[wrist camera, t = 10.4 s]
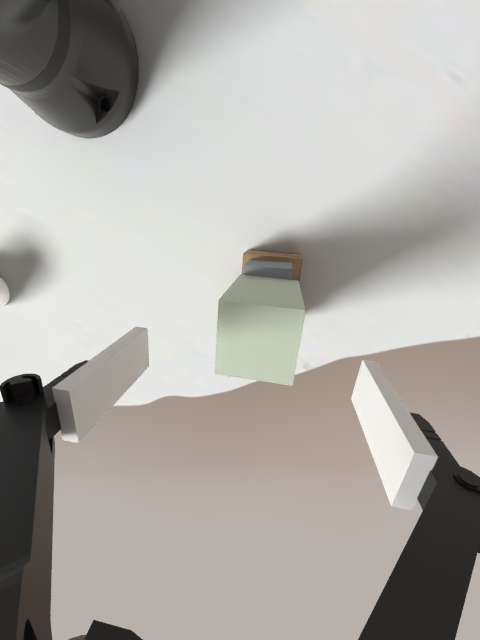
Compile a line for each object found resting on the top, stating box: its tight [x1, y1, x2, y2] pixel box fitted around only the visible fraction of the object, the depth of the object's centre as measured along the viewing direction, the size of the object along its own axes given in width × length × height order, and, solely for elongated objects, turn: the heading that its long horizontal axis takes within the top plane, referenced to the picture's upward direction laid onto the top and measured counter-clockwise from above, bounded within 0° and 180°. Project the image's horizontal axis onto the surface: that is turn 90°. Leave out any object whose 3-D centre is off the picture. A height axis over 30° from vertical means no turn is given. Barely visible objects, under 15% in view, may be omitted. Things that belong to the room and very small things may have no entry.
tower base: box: [242, 250, 302, 281], centre depth 36 cm, size 9×7×5 cm
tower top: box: [243, 260, 293, 280], centre depth 31 cm, size 8×5×5 cm, turn 178°
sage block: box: [215, 274, 306, 386], centre depth 24 cm, size 6×6×10 cm
